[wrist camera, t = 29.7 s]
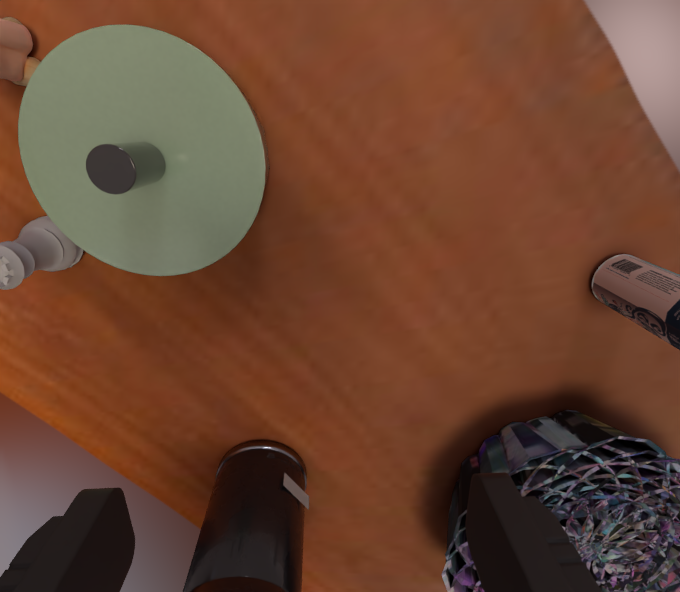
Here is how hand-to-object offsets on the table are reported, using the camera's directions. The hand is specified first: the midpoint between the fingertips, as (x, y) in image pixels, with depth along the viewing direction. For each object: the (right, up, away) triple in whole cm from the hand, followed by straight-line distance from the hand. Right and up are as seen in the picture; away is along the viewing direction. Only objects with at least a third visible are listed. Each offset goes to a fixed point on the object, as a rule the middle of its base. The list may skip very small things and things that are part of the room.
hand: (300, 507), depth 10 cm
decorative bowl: (+24, -16, +38) cm, 48 cm away
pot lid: (-12, +14, +18) cm, 25 cm away
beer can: (+26, +7, +29) cm, 40 cm away
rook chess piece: (-23, +10, +26) cm, 35 cm away
